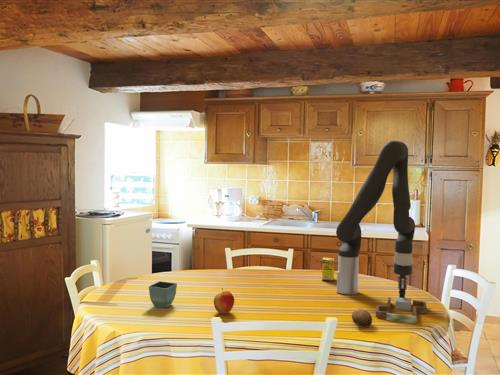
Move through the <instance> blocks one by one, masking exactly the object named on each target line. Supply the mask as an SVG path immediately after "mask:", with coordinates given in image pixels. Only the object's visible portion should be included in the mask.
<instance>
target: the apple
mask: <svg viewBox="0 0 500 375" xmlns="http://www.w3.org/2000/svg"><path fill="white" fill-rule="evenodd" d="M221 290H222V292H220V293H218V294H216V295H215V296H214V298H213V305H214V308H215V310H216V311H217V313H219V314H221V315H226V314H229V313H230V312H231V311H232V310H233V307H234V305H235V297H234V295H233V293H231V292H230V291H228V290H225V291H224V288H223V287H222V288H221Z"/></svg>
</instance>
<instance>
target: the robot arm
mask: <svg viewBox="0 0 500 375" xmlns="http://www.w3.org/2000/svg"><path fill="white" fill-rule="evenodd" d="M408 165H409V148H408V146H407V144H406V143H404V142H403V141H401V140H400V141H398V140H390V141H387V142H386V143H385V144H384V145H383V147H382V148H381V150H380V153H379V154H378V157H377V160H376V161H375V164H374V165H373V167H372V169H371V171H370V172H369V174H368V175H367V177H366V180H365V181H364V183H363V184H362V185H361V188H360V189H359V190H358V193H357V194H356V196H355V199H354V200H353V202H352V203H351V206H350V208H349V209H348V211H347V212H346V214H345V215H344V217H343V218H342V220H341V221H340V222H339V224H338V225H337V227H336V231H335V234H336V237H337V239H338V240H339V242H340V241H341V245H340V247H339V248H338V256H337V258H338V261H337V273H336V275H337V276H336V293H339V294H342V295H351V296H352V295H358V290H359V287H358V286H359V262H360V261H359V259H360V256H359V255H360V254H359V253H360V251H361V246H362V227H361V224H360V223H361V222H362V221H363V219H364V218H365V217H366V216H367V214H369V213H370V212H371V211H372V210H373V209H374V208H375V206H376V205H377V203H378V201H379V200H380V199H381V197H382V195H383V193H384V191H385V188H386V185H387V180H388V177H389V174H390V173H391V172H393V174H392V175H393V176H392V177H393V178H392V179H393V180H392V187H391V195H392V204H393V219H392V220H393V227H394V230H395V231H396V232H397V235H398V236H397V238H396V240H395V243H394V245H395V246H394V257H393V273H394V274H395V275H399V276H397V285H398V286H397V288H398V290H399V291H398V294H399V296H398V297H401V298H406V296H405V295H406V291H407V287H408V286H407V285H408V282H409V280H408V277H406V276H411V275H413V258H414V257H413V242H414V241H413V240H414V236H415V231H416V223H415V220H414V219H413V217H412V216H410V210H411V208H412V207H411V204H412V203H411V195H410V188H409V179H408V178H409V174H408V173H409V172H408V171H409V170H408V169H409V166H408Z"/></svg>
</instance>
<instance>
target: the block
mask: <svg viewBox="0 0 500 375" xmlns="http://www.w3.org/2000/svg"><path fill="white" fill-rule="evenodd" d="M395 309H396V310H404V311H411V310H412V298H409V297H405V298H401V297H399V296H396V297H395Z"/></svg>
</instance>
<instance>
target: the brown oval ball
mask: <svg viewBox="0 0 500 375" xmlns="http://www.w3.org/2000/svg"><path fill="white" fill-rule="evenodd" d="M351 319H352V322H353V323H354V324H355V325H357V326H358V327H359V328H362V329H363V328H364V329H366V328H369V327H371V325H372V324H373V317H372V315H371V314H370V312H369V311H367V310H366V309H365V308H356V309H355V310H353V311H352V313H351Z"/></svg>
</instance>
